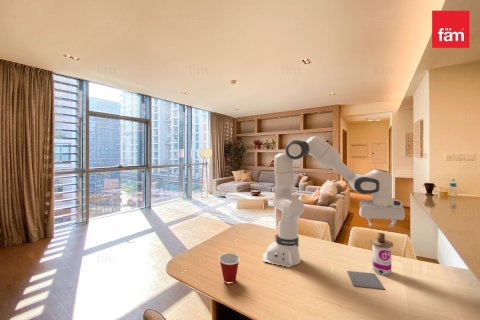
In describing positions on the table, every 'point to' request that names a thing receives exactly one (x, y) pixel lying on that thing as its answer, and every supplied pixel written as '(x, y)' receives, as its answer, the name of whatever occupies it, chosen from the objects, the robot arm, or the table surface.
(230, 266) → the plastic cup
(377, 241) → the lid
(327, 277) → the table surface
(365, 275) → the mat
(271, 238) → the table surface
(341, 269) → the table surface
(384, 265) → the supplement can
